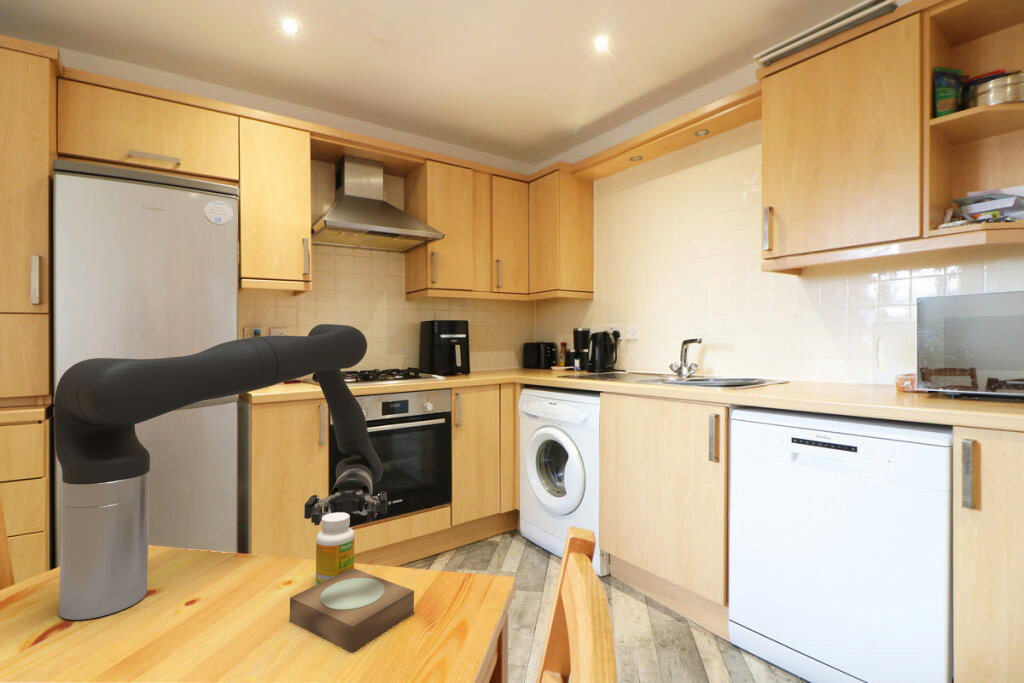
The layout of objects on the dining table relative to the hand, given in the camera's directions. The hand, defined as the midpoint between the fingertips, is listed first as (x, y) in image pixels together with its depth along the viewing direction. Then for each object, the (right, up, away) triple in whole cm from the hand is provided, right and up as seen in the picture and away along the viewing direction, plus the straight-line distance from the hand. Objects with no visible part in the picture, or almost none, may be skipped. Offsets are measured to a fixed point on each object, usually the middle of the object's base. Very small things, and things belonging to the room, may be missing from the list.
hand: (343, 517), depth 83 cm
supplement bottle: (+2, -6, -10) cm, 12 cm away
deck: (+8, -6, -20) cm, 22 cm away
